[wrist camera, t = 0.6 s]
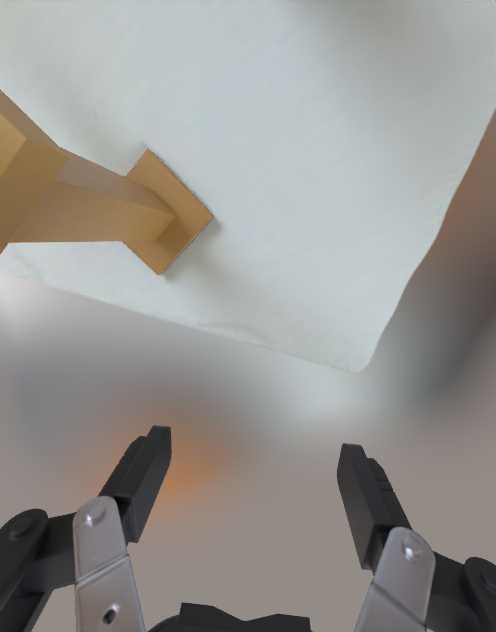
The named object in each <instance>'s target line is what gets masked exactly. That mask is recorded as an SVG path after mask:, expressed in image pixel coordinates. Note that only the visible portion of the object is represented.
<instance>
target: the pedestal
mask: <svg viewBox="0 0 496 632" xmlns="http://www.w3.org/2000/svg"><path fill="white" fill-rule="evenodd" d="M213 218H214V216H213V215H212V214H211V213H210V212H209V211H208V210H207V209H206V207H205V206H204V205H203V204H202V203H201V202H200V201H199V200H198V199H197V198H196V197H195V196H194V195H193V194H192V193H191V192H190V191H189V190H188V189H187V188H186V187H185V186H184V185H183V184H182V182H181V181H180V180H179V179H178V178H177V177H176V176H175V175H174V174H173V173H172V172H171V171H170V170H169V169H168V168H167V167H166V166H165V165H164V164H163V163H162V162H161V161H160V160H159V159H158V157H157V156H156V155H155V154H154V153H153V152H152V151H150V150H149V149H147V150H146V152H145V153H144V154H143V155H142V157H141V158H140V159H139V160H138V162H137V163H136V164H135V166H134V167H133V168H132V169H131V171H130V172H129V173H128V174H127V176H126V177H123V176H121V175H119V174H117V173H115V172H112V171H110V170H108V169H106V168H104V167H102V166H99V165H97V164H95V163H93V162H91V161H89V160H86V159H84V158H82V157H80V156H78V155H76V154H74V153H71V152H69V151H67V150H65V149H63V148H61V147H59V146H58V145H57V144H56V143H55V142H54V141H53V140H52V139H51V138H50V137H49V136H47V135H46V134H45V133H44V132H43V131H42V130H41V129H40V128H39V127H38V126H37V125H36V124H35V123H34V122H33V121H32V120H31V119H30V118H29V117H28V116H27V115H26V114H25V113H24V112H23V111H22V110H21V109H20V108H19V107H18V106H17V105H16V104H15V103H14V102H13V101H12V100H11V99H10V98H8V97H7V96H6V95H5V94H4V93H3V92H2V91H1V90H0V254H1V253H2V251H3V250H4V249H5V247H6V246H7V244H8V243H18V242H95V241H122V242H123V243H125V244H126V245H127V246H128V247H129V248H130V249H131V250H132V251H133V252H134V253H135V254H136V255H137V256H138V257H139V258H140V259H141V260H142V261H144V262H145V263H146V264H147V265H148V266H149V267H150V268H151V269H152V270H153V271H154V272H155V273H156V274H157V275H160V274H162V273H163V272H164V271H165V270H166V269H167V268H168V267H169V266H170V265H171V264H172V262H173V261H174V260H175V259H176V258H177V257H178V256H179V255H180V254H181V253H182V252H183V250H184V249H185V248H186V247H187V246H188V245H189V244H190V243H191V242H192V241H193V240H194V238H195V237H196V236H197V235H198V234H199V233H200V232H201V231H202V230H203V229H204V228H205V226H206V225H207V224H208V223H209V222H210V221H211V220H212V219H213Z"/></svg>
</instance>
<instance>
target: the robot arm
mask: <svg viewBox="0 0 496 632" xmlns="http://www.w3.org/2000/svg"><path fill="white" fill-rule="evenodd" d="M171 453H172V450H171V429H170V427H168V426H157V425H154V426H153V427H152V428H151V430H150V432H149V433H148V435H147V437H145V436H140V437H138V438H137V439H136V440H135V441H134V442H132V443H131V444H130V446H129V447H128V449H127V450H126V452H125V453H124V456H123V457H122V458H121V460H120V462H119V464H118V465H117V466H116V468H115V469H114V471H113V473H112V474H111V476H110V477H109V479H108V481H107V482H106V484H105V485H104V487H103V489H102V490H101V492H100V493H99V495H98V496H97V497H96V498H93V499H91V500H89V501H88V502H86V503H85V504H84V505H82V506H81V507H80V509H79V510H78V511H77V512H75V513H72V514H67V515H62V516H57V517H53V518H48V516H47V513H46V512H45V511H44V510H41V509H30V510H27V511H24V512H22V513H20V514H18V515H16V516H15V517H13V518H12V519H10V520H9V521H8V522H7V523H6V524H5V525H4V526H3V527H2V528H1V529H0V632H31V631H32V629H33V627H34V625H35V623H36V621H37V620H38V618H39V616H40V614H41V612H42V610H43V608H44V607H45V605H46V603H47V601H48V599H49V597H50V595H51V593H52V591H53V590H54V589H57V588H61V587H65V586H68V585H71V584H75V586H74V594H75V613H76V631H77V632H146V629H145V624H144V620H143V615H142V611H141V606H140V602H139V597H138V593H137V588H136V583H135V579H134V575H133V570H132V566H131V561H130V557H129V554H128V553H127V549H126V547H127V545H128V543H129V542H134V543H138V541H139V539H140V537H141V534H142V532H143V529H144V527H145V524H146V522H147V519H148V517H149V514H150V512H151V509H152V507H153V505H154V502H155V500H156V497H157V495H158V492H159V490H160V487H161V485H162V482H163V480H164V477H165V475H166V473H167V470H168V468H169V465H170V461H171ZM337 480H338V486H339V489H340V493H341V496H342V500H343V504H344V507H345V511H346V514H347V518H348V521H349V525H350V529H351V532H352V536H353V540H354V543H355V547H356V550H357V554H358V558H359V561H360V565H361V568H362V569H365V570H372V572H373V576H374V578H373V580H372V582H371V584H370V587H369V589H368V592H367V595H366V598H365V601H364V603H363V606H362V609H361V612H360V614H359V617H358V620H357V623H356V626H355V628H354V631H353V632H426V631H427V628H428V629H430V630H432V631H434V632H496V565H494V564H492V563H491V562H489V561H487V560H485V559H482V558H478V557H471V558H468V559H467V560H466V562H465V564H461V563H459V562H456V561H454V560H452V559H449V558H447V557H444V556H442V555H440V554H438V553H436V552H434V551H433V550H432V549H431V547H430V546H429V544H428V543H427V542H426V541H425V540H424V539H423V538H422V537H421V536H420V535H419V534H417V533H416V532H414V531H413V530H412V528H411V526H410V524H409V522H408V520H407V517H406V515H405V513H404V511H403V509H402V507H401V505H400V503H399V501H398V499H397V497H396V495H395V493H394V492H393V488H392V486H391V484H390V482H389V481H388V478H387V476H386V474H385V472H384V470H383V468H382V467H381V466H380V465H379V464H378V463H377V462H376V461H375V460H374V459H372V458H367V457H366V455H365V452H364V450H363V448H362V446H361V445H355V444H346V443H345V444H344V443H343V445H342V448H341V454H340V458H339V463H338V468H337ZM148 632H312V631H311V629H310V620H309V618H308V617H300V616H291V615H283V614H275V615H271V616H266V617H262V618H258V619H254V620H250V621H242V620H240V619H238V618H236V617H234V616H232V615H229V614H227V613H226V612H223V611H222V610H220V609H217V608H216V607H214V606H208V605H200V604H191V603H182V605H181V609H180V613H179V615H176V616H172V617H170V618H167V619H165V620H164V621H162V622H160V623H158V624H157V625H156V626H154V627H153V628H152V629H150V630H149V631H148Z"/></svg>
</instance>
